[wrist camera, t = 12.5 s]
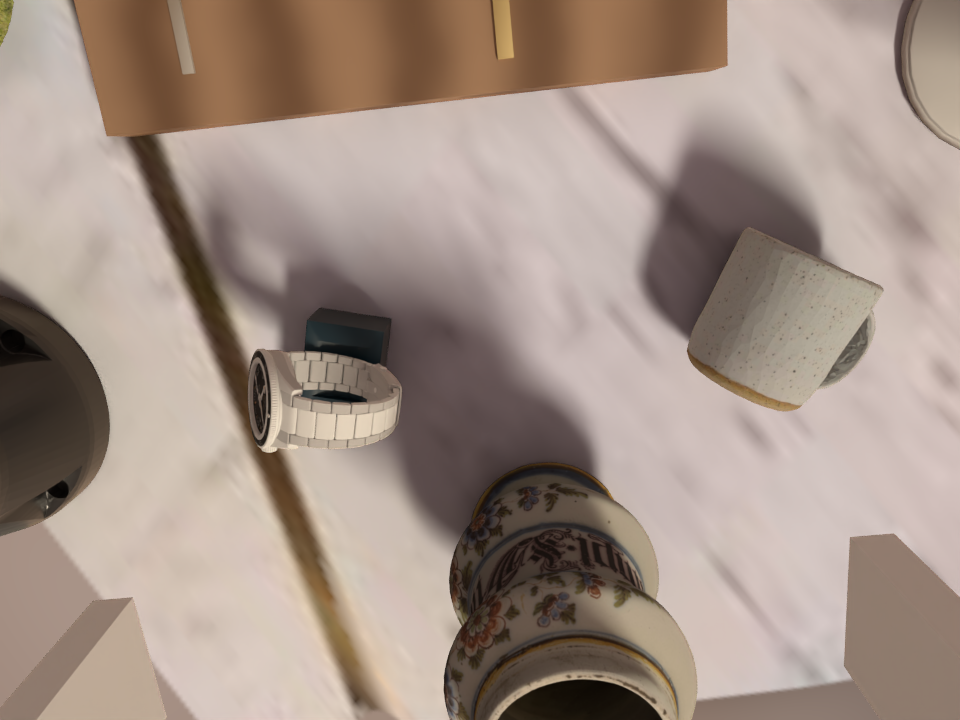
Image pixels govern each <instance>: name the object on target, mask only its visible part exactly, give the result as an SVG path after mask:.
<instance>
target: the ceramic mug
mask: <svg viewBox="0 0 960 720" xmlns="http://www.w3.org/2000/svg"><path fill="white" fill-rule="evenodd" d="M883 291H884V290H883V288H882V287H881V286H880V285H878V284H875V283H873V282H871V281H869V280H866V279H864V278H862V277H859V276H857V275H855V274H853V273H850V272H848V271H846V270H843V269H841V268H839V267H837V266H835V265H833V264H830V263H828V262H826V261H824V260H822V259H820V258H818V257H816V256H814V255H811V254H808V253H806V252H804V251H801V250H799V249H798V248H796V247H794V246H791V245H789V244H787V243H785V242H782V241H780V240H778V239H776V238H774V237H771V236H769V235H767V234H764V233H762V232H760V231H758V230H755V229H753V228H752V227H751V228H750V227H747V228H746V229H744V230H743V232H742V234H741V236H740V238H739V240H738V242H737V244H736V246H735V248H734V250H733V252H732V253H731V255H730V257H729V259H728V261H727V263H726V265H725V267H724V269H723V271H722V273H721V275H720V277H719V279H718V281H717V283H716V285H715V287H714V289H713V291H712V293H711V295H710V297H709V299H708V301H707V303H706V305H705V307H704V309H703V311H702V312H701V314H700V316H699V318H698V320H697V322H696V324H695V326H694V328H693V331H692V334H691V337H690V340H689V344H688V348H687V353H688V356H689V359H690V361H691V363H692V364H693V366H694V367H695V368H697V369H698V370H699V371H700V372H701V373H702V374H704V375H705V376H706V377H708V378H709V379H711V380H712V381H714V382H715V383H717V384H719V385H720V386H722V387H724V388H725V389H727V390H729V391H731V392H733V393H735V394H736V395H739V396H741V397H743V398H745V399H747V400H749V401H751V402H753V403H756V404H759V405H761V406H764V407H767V408H771V409H774V410H778V411H791V410H795V409H798V408H800V407H801V406H802V405H803V404H804V403H805V402H806V401H807V400H808V399H809V398H810V397H811V396H812V395H813V394H814V393H815V391H816V390H817V389H823V388H827V387H830V386H832V385H834V384H835V383H837V382H839V381H840V380H842V379H843V378H845V377H846V376H847V375H848V374H849V373H850V372H851V371H852V370H853V369H854V368H855V367H856V366H857V364H858V363H859V362H860V361H861V359H862V358H863V357H864V355H865V354H866V352H867V350H868V349H869V346H870V344H871V342H872V339H873V336H874V332H875V318H874V314H873V311H872V309H873V307H874V306H875V304H876V303H877V301H878V300H879V298H880V296H881V295H882V293H883Z"/></svg>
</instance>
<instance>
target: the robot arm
mask: <svg viewBox="0 0 960 720" xmlns="http://www.w3.org/2000/svg"><path fill="white" fill-rule="evenodd" d="M109 432H110V422H109V412H108V406H107V401H106V397H105V394H104V391H103V388H102V385H101V383H100V380H99V378H98V376H97V374H96V372H95V370H94V368H93V367H92V365H91V363H90V362H89V360H88V359H87V357H86V356H85V354H84V353H83V352H82V350H81V349H80V348H79V347H78V345H77V344H76V343H75V342H74V341H73V340H72V339H71V338H70V337H69V336H68V335H67V334H66V333H65V332H64V331H63V330H62V329H61V328H60V327H58V326H57V325H56V324H55V323H53V322H52V321H51V320H49V319H48V318H47V317H45V316H44V315H42V314H41V313H39V312H37V311H36V310H34V309H32V308H30V307H28V306H26V305H24V304H22V303H20V302H17V301H15V300H12V299H10V298H7V297H3V296H0V536H3V535H6V534H9V533H12V532H16V531H19V530H22V529H25V528H28V527H30V526H33V525H36V524H38V523H40V522H42V521H44V520H46V519H47V518H49V517H51V516H53V515H54V514H56V513H57V512H58V511H60V510H61V509H62V508H63V507H65V506H66V505H67V504H68V503H69V502H71V501H72V500H73V499H74V498H75V497H77V496H78V495H79V494H80V493H81V492H82V491H83V490H84V489H85V488H86V487H87V486H88V485H89V484H90V483H91V481H92V480H93V479H94V477H95V476H96V474H97V472H98V471H99V469H100V467H101V465H102V463H103V460H104V457H105V454H106V451H107V447H108V441H109ZM844 667H845V668H846V670H847V671H848V673H849V674H850V676H851V677H852V679H853V680H854V682H855V683H856V685H857V686H858V687H859V689H860V690H861V692H862V693H863V695H864V696H865V698H866V699H867V701H868V702H869V704H870V705H871V707H872V708H873V710H874V711H875V713H876V714H877V716H878V717H879V719H880V720H960V597H959V596H958V595H957V594H956V593H955V592H954V591H953V590H952V589H951V588H949V587H948V586H947V585H946V584H945V583H944V582H943V581H942V580H941V579H940V578H939V577H938V576H937V575H936V574H935V573H934V572H933V571H932V570H931V569H930V568H929V567H928V566H927V565H926V564H925V563H924V562H923V561H922V560H921V559H920V558H919V557H918V556H917V555H915V554H914V553H913V552H912V551H911V550H910V549H909V548H908V547H907V546H906V545H905V544H904V543H903V542H902V541H901V540H900V539H899V538H898V537H897V536H896V535H895V534H883V535H871V536H859V537H850V549H849V570H848V592H847V613H846V634H845V656H844ZM166 718H167V716H166V713H165V709H164V706H163V702H162V699H161V695H160V691H159V688H158V685H157V681H156V677H155V674H154V670H153V667H152V663H151V660H150V656H149V652H148V649H147V645H146V642H145V638H144V635H143V631H142V628H141V624H140V621H139V617H138V614H137V610H136V606H135V603H134V599H133V597H132V598H120V599H109V600H97V601H92V603H91V604H90V605H89V606H88V607H87V608H86V610H85V611H84V612H83V613H82V614H81V615H80V616H79V618H78V619H77V620H76V621H75V622H74V623H73V624H72V626H71V627H70V628H69V629H68V630H67V632H66V633H65V634H64V635H63V636H62V637H61V638H60V639H59V641H58V642H57V643H56V644H55V645H54V646H53V647H52V649H51V650H50V651H49V652H48V653H47V654H46V655H45V657H44V658H43V659H42V660H41V661H40V662H39V664H38V665H37V666H36V667H35V668H34V670H32V672H31V673H30V674H29V675H28V676H27V677H26V678H25V680H24V681H23V682H22V683H21V684H20V685H19V687H18V688H17V689H16V690H15V691H14V692H13V693H12V695H11V696H10V697H9V698H8V699H7V700H6V701H5V703H4V704H3V705H2V706H1V707H0V720H166Z"/></svg>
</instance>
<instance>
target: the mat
mask: <svg viewBox="0 0 960 720" xmlns="http://www.w3.org/2000/svg"><path fill="white" fill-rule="evenodd" d="M13 4H14V2H13V0H0V46H1V44H2V43H3V39H4V37H5V35H6V33H7V31H8V27H9V23H10V20H11V15H12V8H13Z"/></svg>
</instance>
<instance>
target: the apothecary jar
mask: <svg viewBox="0 0 960 720" xmlns="http://www.w3.org/2000/svg"><path fill="white" fill-rule="evenodd" d="M449 584H450V594H451V599H452V603H453V607H454V610H455V612H456V615H457V617H458V620H459V622H460V624H461V625H462V627H461V629H460V631H459V632H458V634H457V636H456V638H455V640H454V642H453V645H452V647H451V650H450V652H449V655H448V659H447V663H446V668H445V674H444V695H445V703H446V708H447V712H448V715H449V718H450V720H691V719H692V716H693V712H694V708H695V704H696V698H697V674H696V667H695V662H694V659H693V655H692V652H691V649H690V647H689V645H688V642H687V640H686V638H685V636H684V634H683V633H682V631H681V629H680V628H679V626H678V625H677V623H676V622H675V620H674V619H673V618H672V616H671V615H670V614H669V613H668V612H667V611H666V610H665V608H664V607H663V606H662V605H660V604H659V603H658V602H657V601H656V597H657V592H658V584H659V573H658V564H657V559H656V555H655V552H654V549H653V546H652V544H651V541H650V539H649V537H648V535H647V534H646V532H645V530H644V529H643V527H642V526H641V525H640V523H639V522H638V521H637V520H636V519H635V517H634V516H633V515H632V514H631V513H630V512H629V511H627V510H626V509H625V508H624V507H623V506H621V505H620V504H619V503H617V502H616V501H614V499H613V498H612V496H611V494H610V493H609V491H608V490H607V489H606V488H605V487H604V486H603V485H602V484H601V483H600V482H599V481H598V480H597V479H595V478H594V477H593V476H591V475H590V474H588V473H586V472H585V471H582V470H580V469H578V468H576V467H573V466H570V465H566V464H560V463H552V462H551V463H538V464H530V465H526V466H522V467H519V468H517V469H515V470H513V471H511V472H509V473H507V474H505V475H504V476H502V477H500V478H499V479H498V480H496V481H495V482H494V483H493V484H492V485H491V486H490V487H489V488H488V489H487V490H486V491H485V492H484V494H483V495H482V497H481V498H480V500H479V502H478V503H477V506H476V508H475V510H474V513H473V516H472V520H471V523H470V524H469V526H468V527H467V528H466V530H465V531H464V533H463V535H462V536H461V538H460V540H459V542H458V544H457V546H456V549H455V552H454V555H453V559H452V563H451V568H450V576H449Z"/></svg>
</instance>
